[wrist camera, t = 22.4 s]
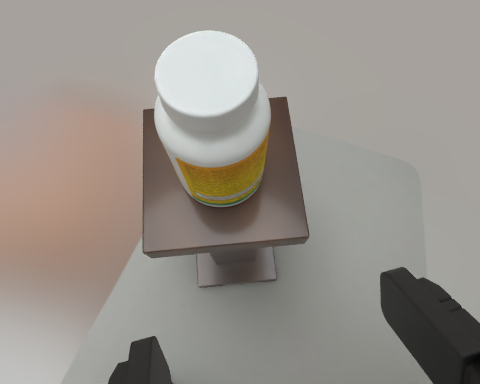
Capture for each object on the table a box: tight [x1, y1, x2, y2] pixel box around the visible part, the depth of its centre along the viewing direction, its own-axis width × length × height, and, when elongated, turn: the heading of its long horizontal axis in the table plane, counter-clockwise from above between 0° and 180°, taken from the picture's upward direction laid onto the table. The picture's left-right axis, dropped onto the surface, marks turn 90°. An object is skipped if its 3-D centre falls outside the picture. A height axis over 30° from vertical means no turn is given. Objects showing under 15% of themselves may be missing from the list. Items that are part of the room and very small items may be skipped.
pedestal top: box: [143, 97, 309, 258], centre depth 23 cm, size 10×10×2 cm
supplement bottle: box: [154, 31, 271, 207], centre depth 18 cm, size 5×5×10 cm
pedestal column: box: [196, 247, 277, 288], centre depth 35 cm, size 10×10×25 cm
